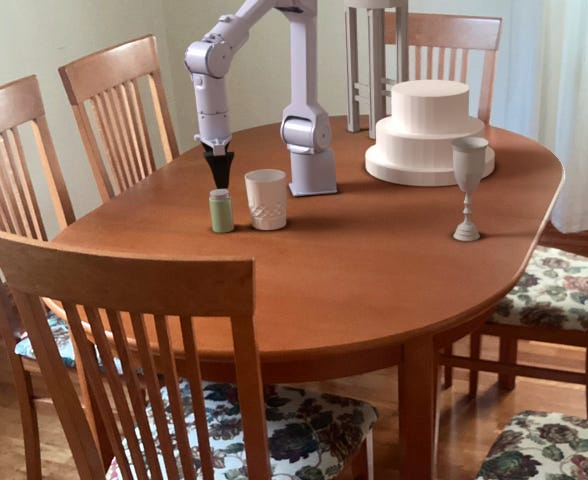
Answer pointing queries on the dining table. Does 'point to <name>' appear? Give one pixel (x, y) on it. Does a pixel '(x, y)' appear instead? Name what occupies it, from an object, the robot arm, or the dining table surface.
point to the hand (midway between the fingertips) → (221, 182)
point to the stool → (373, 58)
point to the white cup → (267, 198)
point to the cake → (424, 134)
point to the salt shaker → (221, 211)
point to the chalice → (468, 178)
